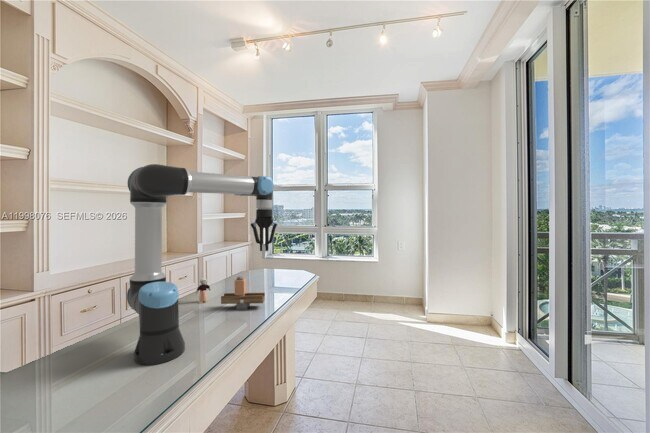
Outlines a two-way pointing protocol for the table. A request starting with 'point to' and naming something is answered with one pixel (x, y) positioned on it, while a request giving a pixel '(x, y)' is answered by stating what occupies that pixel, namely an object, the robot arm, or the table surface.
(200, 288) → the grandmother figurine
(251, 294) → the beam
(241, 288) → the rider
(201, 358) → the table surface
